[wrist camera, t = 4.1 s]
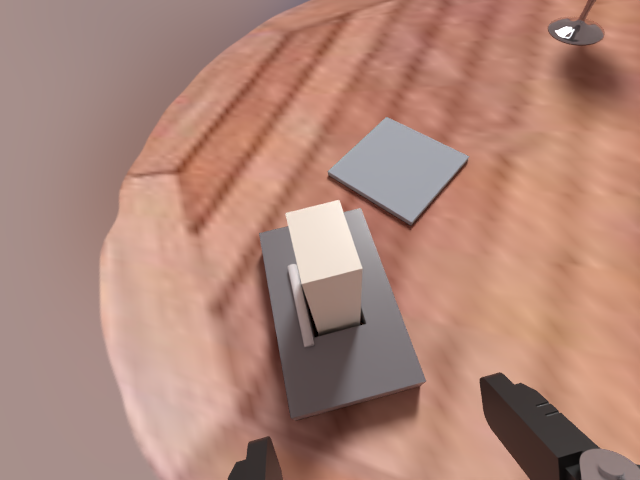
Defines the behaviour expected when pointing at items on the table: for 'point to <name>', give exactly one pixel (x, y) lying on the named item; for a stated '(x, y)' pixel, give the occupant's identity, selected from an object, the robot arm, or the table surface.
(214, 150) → the table surface
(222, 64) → the table surface
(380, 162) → the mat
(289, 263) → the gray slotted base
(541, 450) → the robot arm
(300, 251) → the tall cream pillar
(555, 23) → the wine glass
